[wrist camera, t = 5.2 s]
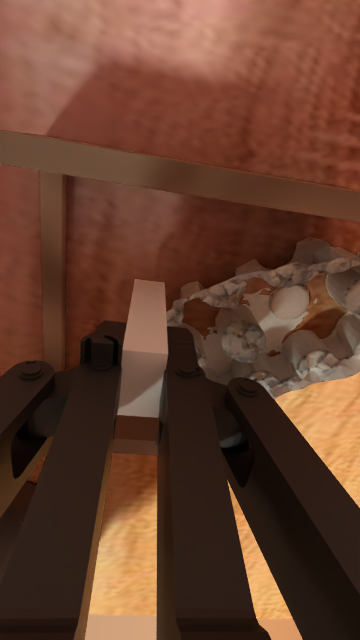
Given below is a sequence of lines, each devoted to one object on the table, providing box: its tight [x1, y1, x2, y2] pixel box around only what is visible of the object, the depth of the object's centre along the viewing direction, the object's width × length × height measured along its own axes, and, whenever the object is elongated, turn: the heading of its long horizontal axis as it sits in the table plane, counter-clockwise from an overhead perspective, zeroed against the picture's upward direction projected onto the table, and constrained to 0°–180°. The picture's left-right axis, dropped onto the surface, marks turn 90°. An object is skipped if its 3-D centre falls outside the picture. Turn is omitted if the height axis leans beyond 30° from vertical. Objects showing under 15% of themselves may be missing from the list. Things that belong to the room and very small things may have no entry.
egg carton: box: [166, 238, 360, 399], centre depth 18 cm, size 11×8×4 cm
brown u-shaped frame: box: [0, 130, 360, 455], centre depth 17 cm, size 14×14×5 cm
